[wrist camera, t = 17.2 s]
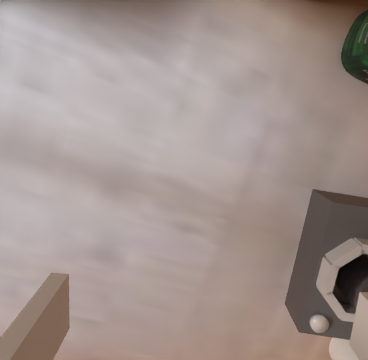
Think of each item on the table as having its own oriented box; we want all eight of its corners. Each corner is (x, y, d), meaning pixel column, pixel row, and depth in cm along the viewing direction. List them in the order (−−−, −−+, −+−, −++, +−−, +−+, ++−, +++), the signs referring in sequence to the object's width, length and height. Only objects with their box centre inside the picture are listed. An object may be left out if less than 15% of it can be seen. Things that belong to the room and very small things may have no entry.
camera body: (312, 189, 42) (340, 207, 34) (390, 201, 42) (436, 222, 35) (284, 303, 46) (304, 343, 38) (357, 314, 46) (392, 357, 38)
